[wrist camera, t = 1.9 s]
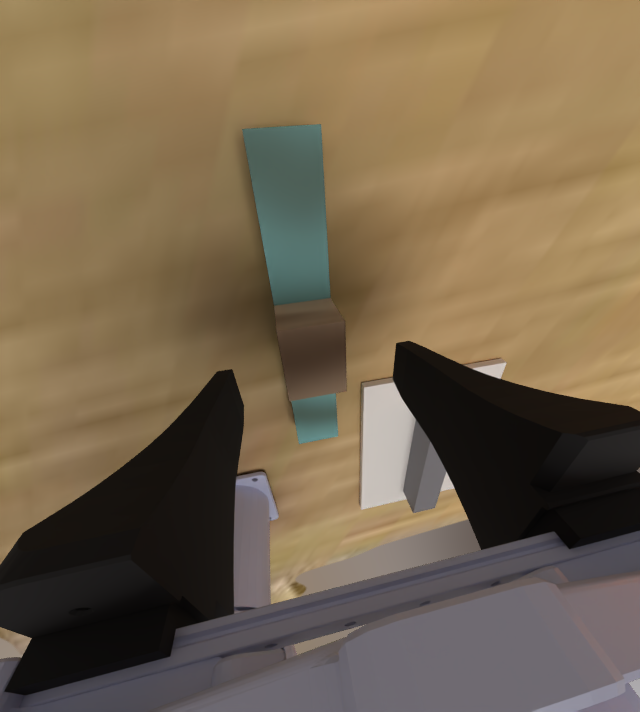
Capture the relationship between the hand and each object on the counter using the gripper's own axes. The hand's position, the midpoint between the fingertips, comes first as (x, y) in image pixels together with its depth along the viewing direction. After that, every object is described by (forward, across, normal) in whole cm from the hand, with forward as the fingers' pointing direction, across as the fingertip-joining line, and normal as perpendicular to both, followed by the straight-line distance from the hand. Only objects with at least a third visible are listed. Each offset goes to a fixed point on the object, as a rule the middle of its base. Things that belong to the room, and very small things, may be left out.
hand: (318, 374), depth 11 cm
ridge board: (+6, -10, +15) cm, 19 cm away
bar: (+6, 0, 0) cm, 6 cm away
